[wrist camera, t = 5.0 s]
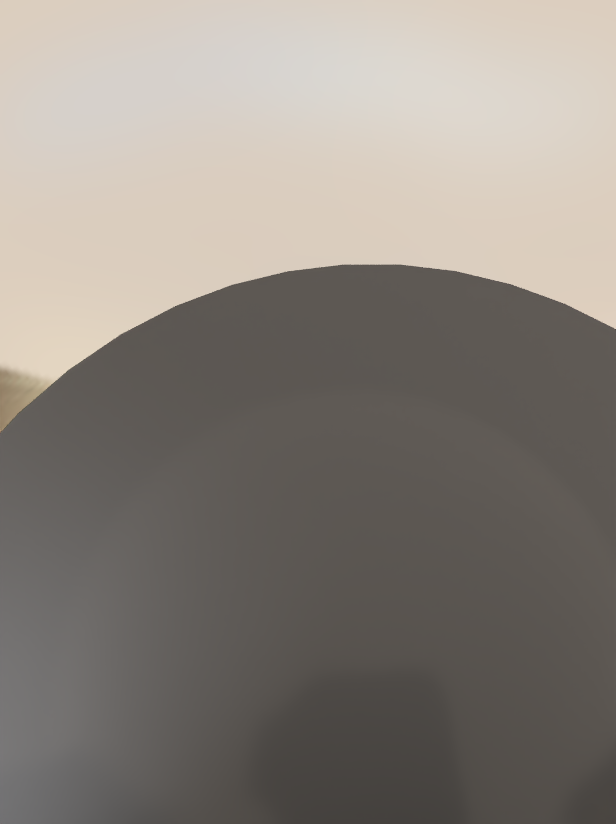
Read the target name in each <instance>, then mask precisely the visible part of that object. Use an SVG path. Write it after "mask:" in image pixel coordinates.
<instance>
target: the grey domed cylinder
mask: <svg viewBox="0 0 616 824" xmlns="http://www.w3.org/2000/svg"><path fill="white" fill-rule="evenodd" d="M0 824H616V329H614V328H612V327H610V326H608V325H606V324H604V323H602V322H600V321H598V320H596V319H594V318H592V317H590V316H588V315H586V314H584V313H582V312H580V311H578V310H576V309H574V308H572V307H570V306H568V305H566V304H563V303H561V302H558V301H555V300H552V299H550V298H547V297H544V296H541V295H539V294H536V293H533V292H530V291H528V290H525V289H522V288H519V287H517V286H514V285H511V284H507V283H503V282H499V281H494V280H490V279H486V278H482V277H478V276H473V275H469V274H465V273H460V272H457V271H448V270H440V269H432V268H423V267H414V266H406V265H338V266H330V267H321V268H313V269H305V270H296V271H288V272H284V273H280V274H276V275H271V276H268V277H263V278H259V279H255V280H251V281H247V282H243V283H239V284H234V285H231V286H228V287H225V288H223V289H221V290H217V291H215V292H212V293H209V294H207V295H204V296H201V297H199V298H196V299H193V300H191V301H188V302H185V303H183V304H180V305H177V306H175V307H173V308H171V309H169V310H168V311H165V312H163V313H162V314H160V315H158V316H156V317H154V318H152V319H150V320H148V321H146V322H144V323H142V324H140V325H138V326H136V327H134V328H133V329H131V330H129V331H127V332H125V333H123V334H121V335H120V336H118V337H117V338H116V339H114V340H112V341H111V342H109V343H108V344H107V345H105V346H103V347H102V348H100V349H99V350H97V351H96V352H95V353H93V354H92V355H90V356H89V357H87V358H86V359H84V360H83V361H81V362H80V363H78V364H77V365H75V366H74V367H72V368H71V369H70V370H68V371H67V372H66V373H65V374H63V375H62V376H61V377H60V378H59V379H58V380H57V381H55V382H54V383H53V384H52V385H51V386H50V387H48V388H47V389H46V390H45V391H44V392H43V393H41V394H40V395H39V396H38V397H37V398H36V399H35V400H33V401H32V402H31V403H30V404H29V405H28V406H26V407H25V408H24V409H23V410H22V411H21V412H19V413H18V414H17V415H16V417H15V418H14V419H13V420H12V421H11V422H10V423H9V424H8V425H7V426H6V427H5V428H4V430H3V431H2V432H1V433H0Z"/></svg>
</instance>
